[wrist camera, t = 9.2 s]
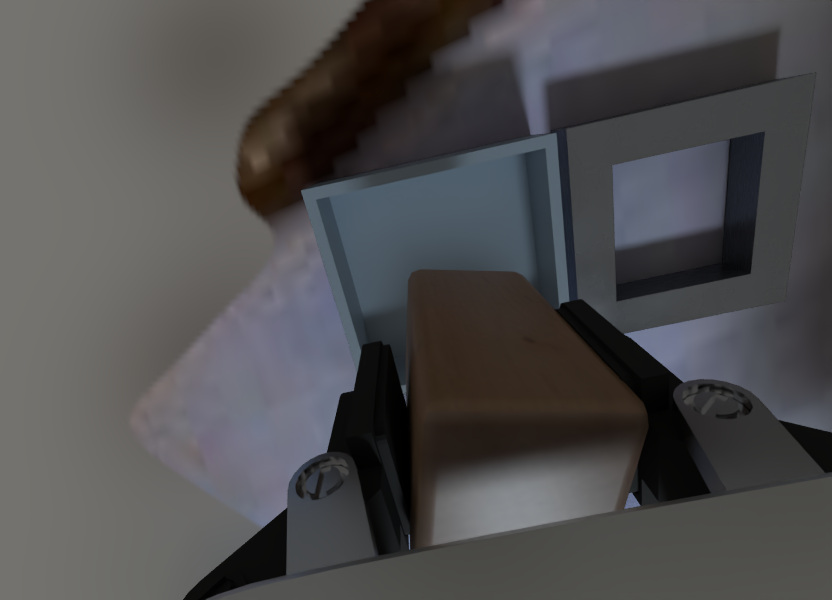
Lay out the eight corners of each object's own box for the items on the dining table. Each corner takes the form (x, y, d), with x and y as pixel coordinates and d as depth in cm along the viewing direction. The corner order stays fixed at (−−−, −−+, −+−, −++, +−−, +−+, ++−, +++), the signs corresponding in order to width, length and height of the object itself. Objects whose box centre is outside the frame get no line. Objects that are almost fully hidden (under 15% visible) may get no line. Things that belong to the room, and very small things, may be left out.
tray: (530, 134, 20) (556, 132, 17) (550, 330, 24) (573, 359, 21) (317, 183, 20) (301, 190, 17) (370, 366, 24) (365, 401, 21)
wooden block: (522, 268, 14) (666, 411, 6) (509, 368, 15) (613, 580, 8) (408, 265, 14) (417, 409, 6) (405, 366, 15) (410, 582, 8)
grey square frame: (776, 79, 19) (816, 72, 17) (754, 288, 23) (785, 300, 21) (550, 130, 20) (566, 128, 18) (567, 326, 24) (581, 342, 22)
